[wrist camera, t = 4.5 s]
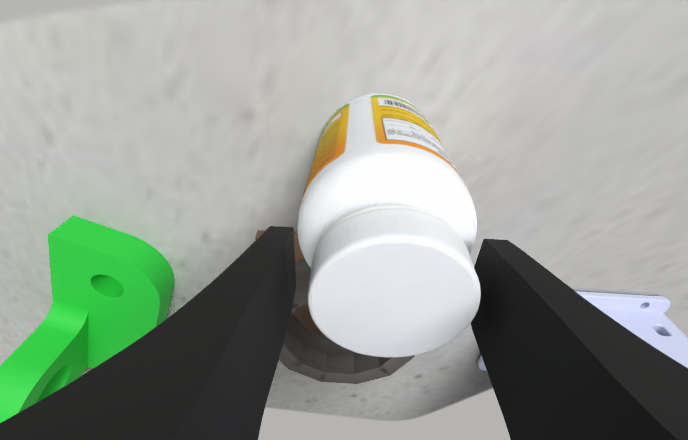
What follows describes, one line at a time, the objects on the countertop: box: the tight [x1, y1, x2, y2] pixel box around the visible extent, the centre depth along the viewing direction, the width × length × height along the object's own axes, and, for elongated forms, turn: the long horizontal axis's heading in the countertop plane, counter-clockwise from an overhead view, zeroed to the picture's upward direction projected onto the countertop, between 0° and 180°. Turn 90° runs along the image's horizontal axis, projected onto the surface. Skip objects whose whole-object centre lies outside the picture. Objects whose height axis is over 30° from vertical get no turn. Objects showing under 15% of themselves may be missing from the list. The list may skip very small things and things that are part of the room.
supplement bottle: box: [297, 93, 481, 357], centre depth 12 cm, size 5×5×10 cm
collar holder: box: [256, 231, 415, 384], centre depth 20 cm, size 10×10×3 cm
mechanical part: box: [0, 216, 174, 423], centre depth 19 cm, size 12×6×8 cm, turn 156°
